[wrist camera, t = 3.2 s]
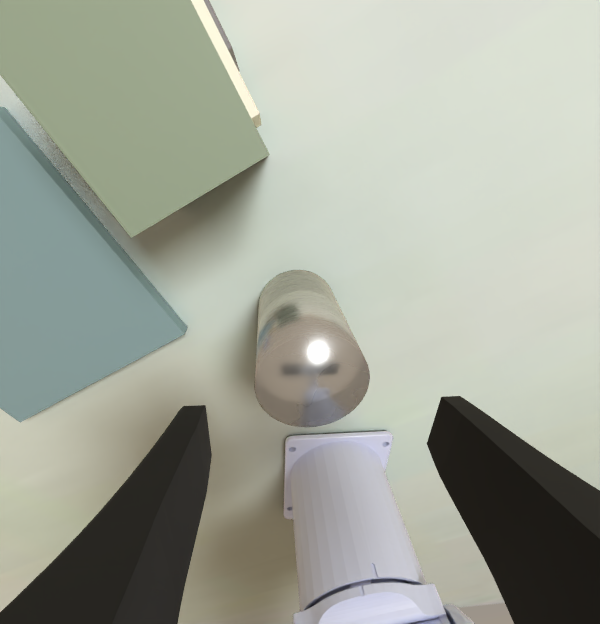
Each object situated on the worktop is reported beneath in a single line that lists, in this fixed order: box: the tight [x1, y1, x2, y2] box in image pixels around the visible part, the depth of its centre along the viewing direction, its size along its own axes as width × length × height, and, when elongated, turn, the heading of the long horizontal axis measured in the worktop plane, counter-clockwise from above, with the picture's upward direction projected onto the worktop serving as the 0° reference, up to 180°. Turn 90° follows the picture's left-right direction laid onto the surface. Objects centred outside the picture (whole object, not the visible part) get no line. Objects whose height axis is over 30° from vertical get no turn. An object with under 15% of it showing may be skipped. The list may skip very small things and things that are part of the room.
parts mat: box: [0, 107, 187, 422], centre depth 16 cm, size 12×12×1 cm
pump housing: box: [0, 0, 270, 238], centre depth 10 cm, size 5×7×6 cm
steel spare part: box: [255, 270, 370, 427], centre depth 15 cm, size 4×4×7 cm
